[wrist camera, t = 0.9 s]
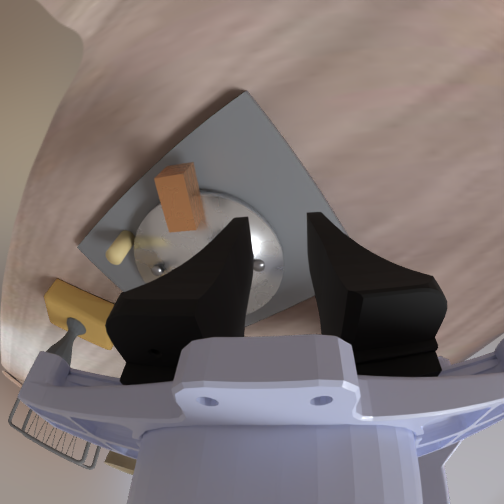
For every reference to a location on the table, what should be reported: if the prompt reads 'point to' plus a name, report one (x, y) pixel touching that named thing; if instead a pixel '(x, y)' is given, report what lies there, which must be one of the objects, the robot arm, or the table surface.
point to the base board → (229, 182)
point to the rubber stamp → (77, 317)
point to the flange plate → (202, 231)
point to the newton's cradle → (78, 462)
